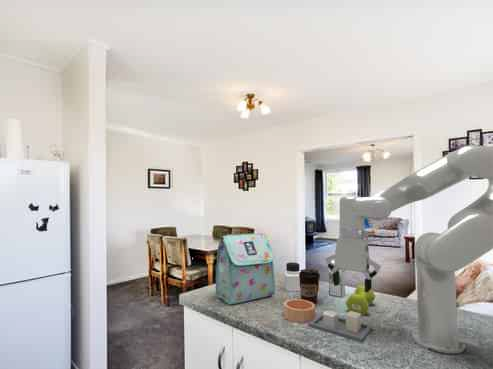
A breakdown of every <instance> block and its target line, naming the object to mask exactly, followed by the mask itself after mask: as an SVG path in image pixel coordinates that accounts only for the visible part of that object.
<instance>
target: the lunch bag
mask: <svg viewBox="0 0 493 369" xmlns="http://www.w3.org/2000/svg"><path fill="white" fill-rule="evenodd" d="M216 252H217V254H216V271H215V296H216V297H217V299H222V300H223V301H224V302H225V303H229V305H228V306H230V305H234V304H235V305H236V304H240V303H241V304H242V303H244V302H249V301H252V300H257V299H263V298H266V297H271V296H273V295H275V293H276V286H275V285H276V284H275V283H276V282H275V272H274V270H275V269H274V260H275V253H274V251H273V248H272V246H271V244H270V241H269V239H268V236H267V234H266V233H242V234H241V233H240V234H232V233H229V234H226V235H223V236H221V237H220V239H219V243H218V246H217V251H216Z"/></svg>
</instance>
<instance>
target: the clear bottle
mask: <svg viewBox="0 0 493 369" xmlns="http://www.w3.org/2000/svg"><path fill="white" fill-rule="evenodd" d="M331 263H332V264H333V265H334V266H335V259H332V260H331ZM338 272H339V273H340V283H339V285H337V286H334V282H333V273H332V272H331V270H330V268H329V267H328V288H329V289H328V294H329V296H331V297H337V298H343V297H344V296H346V270H345V269H339V270H338Z"/></svg>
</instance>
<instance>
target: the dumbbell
mask: <svg viewBox="0 0 493 369" xmlns="http://www.w3.org/2000/svg"><path fill="white" fill-rule="evenodd" d="M375 298H376V295H375V292H374V291H373V289H372V288H371V290H370V291H369V292H365V284H364V285H363V284H359V285H358V286H357V287H356V288H355V290H354V292H353V293H351V294H350V295H349V297H348V298H347V299H346V301H345V306H346V307H347V309H348V312H349V311H352V312H357V313H361V316H365V315H366V313H367V312H368V310H369V309H370V305H371V304H372V303H373V302H374V300H375Z"/></svg>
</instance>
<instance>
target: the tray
mask: <svg viewBox="0 0 493 369" xmlns="http://www.w3.org/2000/svg"><path fill="white" fill-rule="evenodd" d="M323 313H324V312H321V313H320V314H319V315H318V316H315V319H314V320H313V321H311V322H308V327H309V328H312V329H315V330H319V331H321V332H325V333H329V334H332V335H336V336H339V337H342V338H345V339H348V340H351V341H355V342H359V343H363V342H364V341H365V339H366V338H367V336H368V335H369V334H370V333H371V331H372V330H373V325H371V324H368V323H363V322H361V329H360V330H359V331H358V332H354V331H350V330H347V329H346V317H345V318H344V317H340V316H338V328H337V329H336V330H335V329H332V328H328V327H325V326H323Z"/></svg>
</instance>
